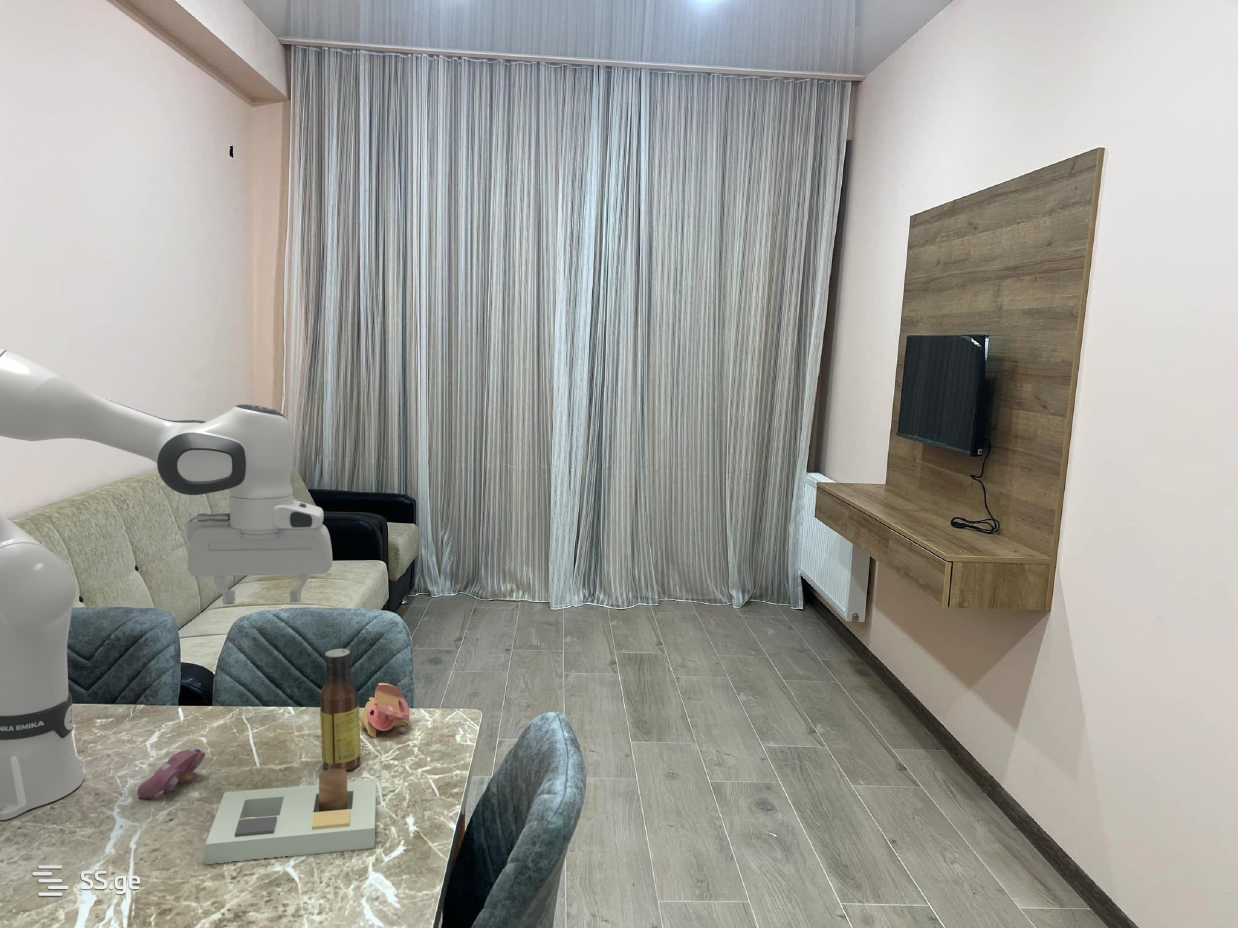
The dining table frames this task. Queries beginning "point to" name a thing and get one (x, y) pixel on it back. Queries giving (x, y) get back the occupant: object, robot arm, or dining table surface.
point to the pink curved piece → (172, 773)
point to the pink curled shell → (385, 710)
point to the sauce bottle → (339, 714)
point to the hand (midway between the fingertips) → (262, 602)
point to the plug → (333, 790)
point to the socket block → (290, 823)
